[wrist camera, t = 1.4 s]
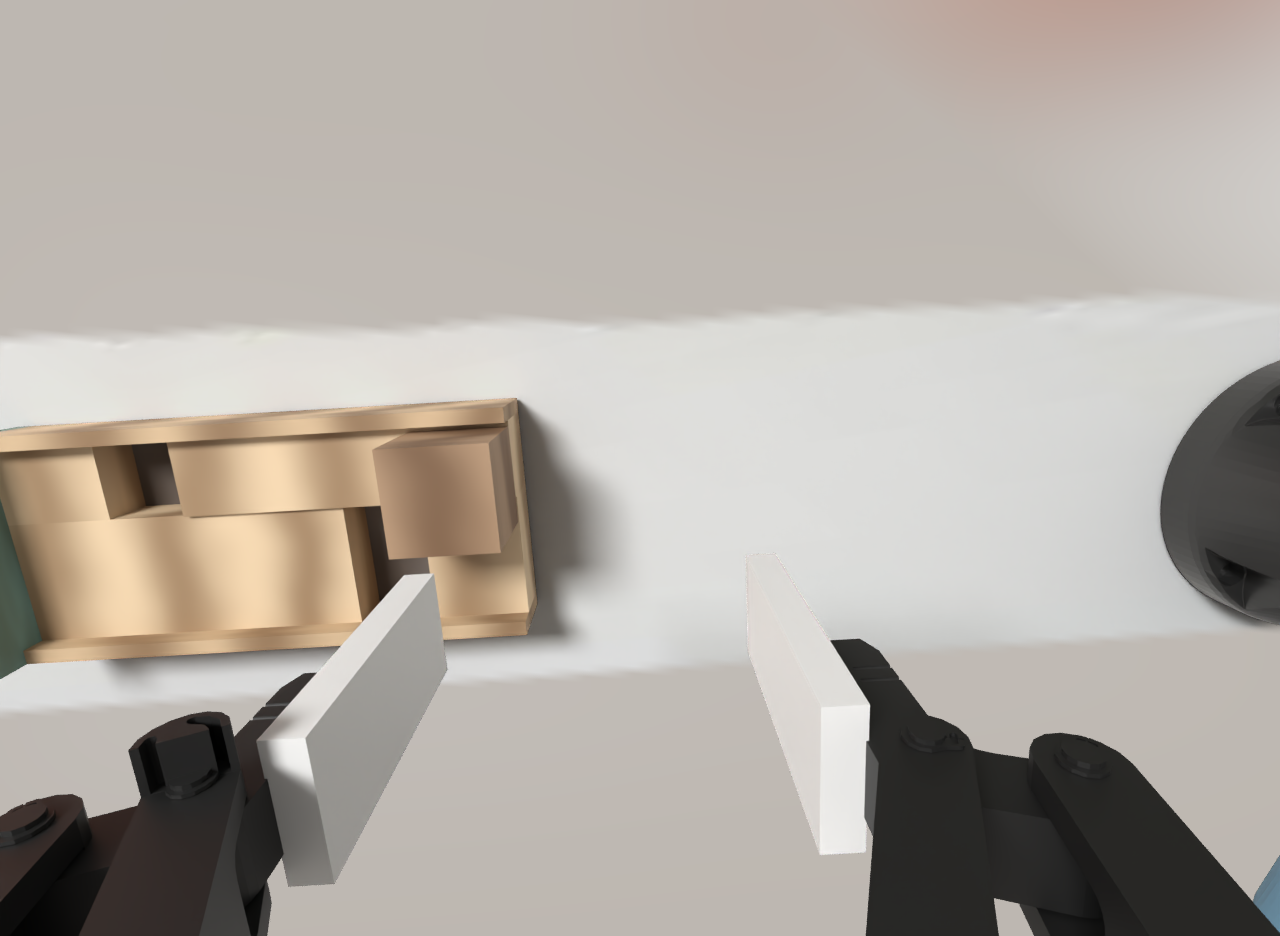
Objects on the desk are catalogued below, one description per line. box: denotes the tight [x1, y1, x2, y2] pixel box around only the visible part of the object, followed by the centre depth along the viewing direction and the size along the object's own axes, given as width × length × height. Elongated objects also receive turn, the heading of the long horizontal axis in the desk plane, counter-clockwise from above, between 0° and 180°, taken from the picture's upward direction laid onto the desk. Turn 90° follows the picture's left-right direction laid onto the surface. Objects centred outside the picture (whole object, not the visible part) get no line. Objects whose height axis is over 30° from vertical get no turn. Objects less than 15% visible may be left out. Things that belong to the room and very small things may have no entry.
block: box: [372, 426, 518, 559], centre depth 30 cm, size 5×5×4 cm
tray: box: [0, 398, 537, 679], centre depth 33 cm, size 27×12×6 cm, turn 93°
